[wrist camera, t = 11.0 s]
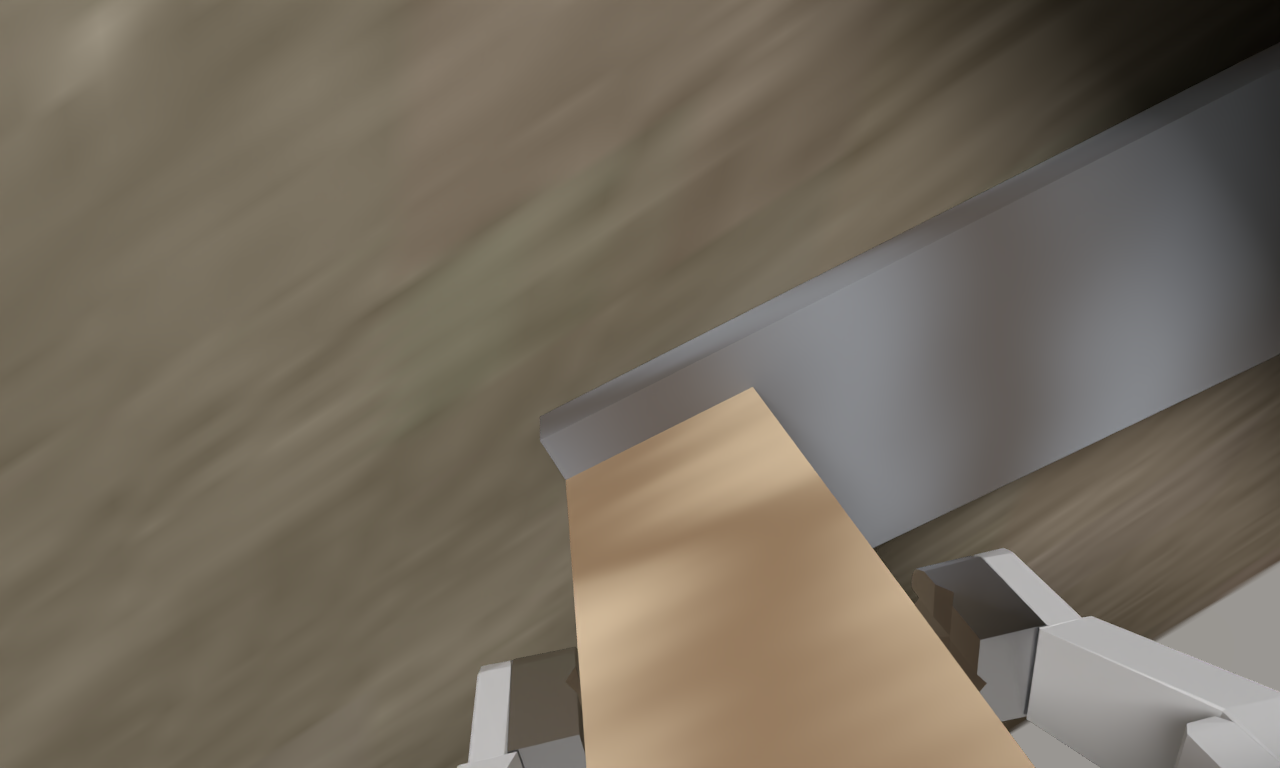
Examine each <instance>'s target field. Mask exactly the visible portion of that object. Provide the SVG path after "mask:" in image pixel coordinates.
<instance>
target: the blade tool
mask: <svg viewBox="0 0 1280 768" xmlns="http://www.w3.org/2000/svg"><path fill="white" fill-rule="evenodd" d="M1279 354H1280V42H1279V43H1277V44H1275V45H1273V46H1271V47H1269V48H1267V49H1265V50H1263V51H1261V52H1259V53H1257V54H1255V55H1253V56H1251V57H1249V58H1247V59H1245V60H1243V61H1241V62H1240V63H1238V64H1236V65H1234V66H1232V67H1230V68H1228V69H1226V70H1224V71H1222V72H1220V73H1218V74H1216V75H1214V76H1212V77H1210V78H1208V79H1206V80H1204V81H1202V82H1200V83H1198V84H1196V85H1194V86H1192V87H1190V88H1188V89H1186V90H1184V91H1182V92H1180V93H1178V94H1176V95H1174V96H1172V97H1170V98H1168V99H1166V100H1164V101H1162V102H1160V103H1159V104H1157V105H1155V106H1153V107H1151V108H1149V109H1147V110H1145V111H1143V112H1141V113H1139V114H1137V115H1135V116H1133V117H1131V118H1129V119H1127V120H1125V121H1123V122H1121V123H1119V124H1117V125H1115V126H1113V127H1111V128H1109V129H1107V130H1105V131H1103V132H1101V133H1099V134H1097V135H1095V136H1093V137H1091V138H1089V139H1087V140H1085V141H1083V142H1081V143H1080V144H1078V145H1076V146H1074V147H1072V148H1070V149H1068V150H1066V151H1064V152H1062V153H1060V154H1058V155H1056V156H1054V157H1052V158H1050V159H1048V160H1046V161H1044V162H1042V163H1040V164H1038V165H1036V166H1034V167H1032V168H1030V169H1028V170H1026V171H1024V172H1022V173H1020V174H1018V175H1016V176H1014V177H1012V178H1010V179H1008V180H1006V181H1004V182H1002V183H1000V184H999V185H997V186H995V187H993V188H991V189H989V190H987V191H985V192H983V193H981V194H979V195H977V196H975V197H973V198H971V199H969V200H967V201H965V202H963V203H961V204H959V205H957V206H955V207H953V208H951V209H949V210H947V211H945V212H943V213H941V214H939V215H937V216H935V217H933V218H931V219H929V220H927V221H925V222H923V223H921V224H920V225H918V226H916V227H914V228H912V229H910V230H908V231H906V232H904V233H902V234H900V235H898V236H896V237H894V238H892V239H890V240H888V241H886V242H884V243H882V244H880V245H878V246H876V247H874V248H872V249H870V250H868V251H866V252H864V253H862V254H860V255H858V256H856V257H854V258H852V259H850V260H848V261H846V262H844V263H842V264H840V265H839V266H837V267H835V268H833V269H831V270H829V271H827V272H825V273H823V274H821V275H819V276H817V277H815V278H813V279H811V280H809V281H807V282H805V283H803V284H801V285H799V286H797V287H795V288H793V289H791V290H789V291H787V292H785V293H783V294H781V295H779V296H777V297H775V298H773V299H771V300H769V301H767V302H765V303H763V304H761V305H759V306H758V307H756V308H754V309H752V310H750V311H748V312H746V313H744V314H742V315H740V316H738V317H736V318H734V319H732V320H730V321H728V322H726V323H724V324H722V325H720V326H718V327H716V328H714V329H712V330H710V331H708V332H706V333H704V334H702V335H700V336H698V337H696V338H694V339H692V340H690V341H688V342H686V343H684V344H682V345H680V346H679V347H677V348H675V349H673V350H671V351H669V352H667V353H665V354H663V355H661V356H659V357H657V358H655V359H653V360H651V361H649V362H647V363H645V364H643V365H641V366H639V367H637V368H635V369H633V370H631V371H629V372H627V373H625V374H623V375H621V376H619V377H617V378H615V379H613V380H611V381H609V382H607V383H605V384H603V385H601V386H599V387H598V388H596V389H594V390H592V391H590V392H588V393H586V394H584V395H582V396H580V397H578V398H576V399H574V400H572V401H570V402H568V403H566V404H564V405H562V406H560V407H558V408H556V409H554V410H552V411H550V412H548V413H546V414H544V415H542V416H540V441H541V443H542V444H543V446H544V447H545V449H546V450H547V452H548V453H549V455H550V457H551V458H552V460H553V461H554V463H555V464H556V466H557V467H558V469H559V470H560V472H561V473H562V475H563V477H564V478H565V480H566V490H567V504H568V518H569V532H570V546H571V560H572V574H573V588H574V602H575V616H576V629H577V643H578V657H579V671H580V685H581V699H582V713H583V727H584V741H585V755H586V768H1035V767H1034V765H1033V764H1032V763H1031V761H1030V760H1029V758H1028V757H1027V756H1026V754H1025V753H1024V752H1023V751H1022V749H1021V748H1020V746H1019V745H1018V744H1017V742H1016V741H1015V740H1014V738H1013V737H1012V736H1011V734H1010V733H1009V732H1008V730H1007V729H1006V727H1005V726H1004V725H1003V723H1002V722H1001V721H1000V719H999V718H998V717H997V715H996V714H995V713H994V711H993V710H992V709H991V707H990V706H989V705H988V703H987V702H986V701H985V699H984V698H983V696H982V695H981V694H980V692H979V691H978V690H977V688H976V687H975V686H974V684H973V683H972V682H971V680H970V679H969V678H968V676H967V675H966V674H965V672H964V671H963V670H962V668H961V667H960V665H959V664H958V663H957V661H956V660H955V659H954V657H953V656H952V655H951V653H950V652H949V651H948V649H947V648H946V647H945V645H944V644H943V643H942V641H941V640H940V639H939V637H938V636H937V634H936V633H935V632H934V630H933V629H932V628H931V626H930V625H929V624H928V622H927V621H926V620H925V618H924V617H923V616H922V614H921V613H920V612H919V610H918V609H917V607H916V606H915V605H914V603H913V602H912V601H911V599H910V598H909V597H908V595H907V594H906V593H905V591H904V590H903V589H902V587H901V586H900V585H899V583H898V582H897V581H896V579H895V578H894V576H893V575H892V574H891V572H890V571H889V570H888V568H887V567H886V566H885V564H884V563H883V562H882V560H881V559H880V558H879V556H878V555H877V554H876V552H875V551H874V550H873V548H874V547H876V546H878V545H880V544H882V543H885V542H887V541H889V540H891V539H893V538H895V537H897V536H899V535H901V534H903V533H906V532H908V531H910V530H912V529H914V528H916V527H918V526H920V525H922V524H924V523H927V522H929V521H931V520H933V519H935V518H937V517H939V516H941V515H943V514H945V513H947V512H950V511H952V510H954V509H956V508H958V507H960V506H962V505H964V504H966V503H968V502H971V501H973V500H975V499H977V498H979V497H981V496H983V495H985V494H987V493H989V492H992V491H994V490H996V489H998V488H1000V487H1002V486H1004V485H1006V484H1008V483H1010V482H1013V481H1015V480H1017V479H1019V478H1021V477H1023V476H1025V475H1027V474H1029V473H1031V472H1034V471H1036V470H1038V469H1040V468H1042V467H1044V466H1046V465H1048V464H1050V463H1052V462H1055V461H1057V460H1059V459H1061V458H1063V457H1065V456H1067V455H1069V454H1071V453H1073V452H1076V451H1078V450H1080V449H1082V448H1084V447H1086V446H1088V445H1090V444H1092V443H1094V442H1096V441H1099V440H1101V439H1103V438H1105V437H1107V436H1109V435H1111V434H1113V433H1115V432H1117V431H1120V430H1122V429H1124V428H1126V427H1128V426H1130V425H1132V424H1134V423H1136V422H1138V421H1141V420H1143V419H1145V418H1147V417H1149V416H1151V415H1153V414H1155V413H1157V412H1159V411H1162V410H1164V409H1166V408H1168V407H1170V406H1172V405H1174V404H1176V403H1178V402H1180V401H1183V400H1185V399H1187V398H1189V397H1191V396H1193V395H1195V394H1197V393H1199V392H1201V391H1204V390H1206V389H1208V388H1210V387H1212V386H1214V385H1216V384H1218V383H1220V382H1222V381H1225V380H1227V379H1229V378H1231V377H1233V376H1235V375H1237V374H1239V373H1241V372H1243V371H1246V370H1248V369H1250V368H1252V367H1254V366H1256V365H1258V364H1260V363H1262V362H1264V361H1266V360H1269V359H1271V358H1273V357H1275V356H1277V355H1279Z"/></svg>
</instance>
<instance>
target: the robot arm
mask: <svg viewBox="0 0 1280 768" xmlns="http://www.w3.org/2000/svg"><path fill="white" fill-rule="evenodd" d="M912 589H913V591H914V592H915V593H916V595H917V596H918V597H919V598H918V600H917V601H916V602H915V604H914V605H915V606H916V607H917V609H918V610H919V612H920V613H921V614H922V616H923V617H924V618H925V620H926V621H927V622H928V624H929V625H930V626H931V628H932V629H933V630H934V632H935V633H936V634H937V636H938V637H939V639H940V640H941V641H942V643H943V644H944V645H945V647H946V648H947V649H948V651H949V652H950V653H951V655H952V656H953V657H954V659H955V660H956V661H957V663H958V664H959V665H960V667H961V668H962V670H963V671H964V672H965V674H966V675H967V676H968V678H969V679H970V680H971V682H972V683H973V684H974V686H975V687H976V688H977V690H978V691H979V692H980V694H981V695H982V696H983V698H984V699H985V701H986V702H987V703H988V705H989V706H990V707H991V709H992V710H993V711H994V713H995V714H996V715H997V717H998V718H999V719H1000V721H1001V722H1002V721H1006V720H1011V719H1016V718H1020V717H1025V716H1027V720H1028V721H1030V722H1032V723H1033V724H1035V725H1036V726H1038V727H1039V728H1041V729H1043V730H1044V731H1045V732H1047V733H1049V734H1050V735H1051V736H1053V737H1055V738H1056V739H1058V740H1059V741H1061V742H1062V743H1064V744H1065V745H1067V746H1068V747H1070V748H1072V749H1073V750H1075V751H1076V752H1078V753H1079V754H1081V755H1082V756H1084V757H1086V758H1087V759H1088V760H1090V761H1091V762H1093V763H1095V764H1096V765H1098V766H1099V767H1101V768H1280V691H1277V690H1275V689H1272V688H1270V687H1267V686H1265V685H1262V684H1260V683H1257V682H1255V681H1252V680H1250V679H1247V678H1245V677H1242V676H1240V675H1237V674H1235V673H1232V672H1230V671H1227V670H1225V669H1222V668H1220V667H1217V666H1215V665H1212V664H1210V663H1207V662H1205V661H1202V660H1200V659H1197V658H1195V657H1192V656H1190V655H1187V654H1185V653H1182V652H1180V651H1177V650H1175V649H1172V648H1170V647H1167V646H1165V645H1162V644H1160V643H1158V642H1155V641H1153V640H1150V639H1148V638H1145V637H1143V636H1140V635H1138V634H1135V633H1133V632H1130V631H1128V630H1125V629H1123V628H1120V627H1118V626H1115V625H1113V624H1110V623H1108V622H1105V621H1103V620H1100V619H1098V618H1095V617H1093V616H1088V617H1083V618H1082V617H1081V616H1080V615H1079V614H1078V613H1076V612H1075V611H1074V610H1073V609H1072V608H1071V607H1070V606H1069V605H1068V604H1067V603H1066V602H1065V601H1064V600H1063V599H1062V598H1061V597H1060V596H1059V595H1057V594H1056V593H1055V592H1054V591H1053V590H1052V589H1051V588H1050V587H1049V586H1048V585H1047V584H1046V583H1045V582H1044V581H1043V580H1042V579H1041V578H1039V577H1038V576H1037V575H1036V574H1035V573H1034V572H1033V571H1032V570H1031V569H1030V568H1029V567H1028V566H1027V565H1026V564H1025V563H1024V562H1023V561H1022V560H1020V559H1019V558H1018V557H1017V556H1016V555H1015V554H1014V553H1013V552H1012V551H1010V550H1008V549H1005V548H1001V549H997V550H993V551H989V552H984V553H980V554H976V555H974V556H967V557H963V558H959V559H955V560H951V561H946V562H942V563H938V564H934V565H930V566H925V567H921V568H917V569H915V571H914V573H913V575H912ZM457 768H586V755H585V741H584V727H583V713H582V699H581V685H580V671H579V657H578V650H577V648H576V647H572V648H567V649H562V650H557V651H552V652H547V653H542V654H537V655H532V656H527V657H522V658H517V659H514V660H510V661H505V662H500V663H495V664H490V665H485V666H481V669H480V671H479V673H478V676H477V686H476V695H475V704H474V713H473V722H472V731H471V740H470V750H469V759H468V763H465V764H462V765H458V766H457Z"/></svg>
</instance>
